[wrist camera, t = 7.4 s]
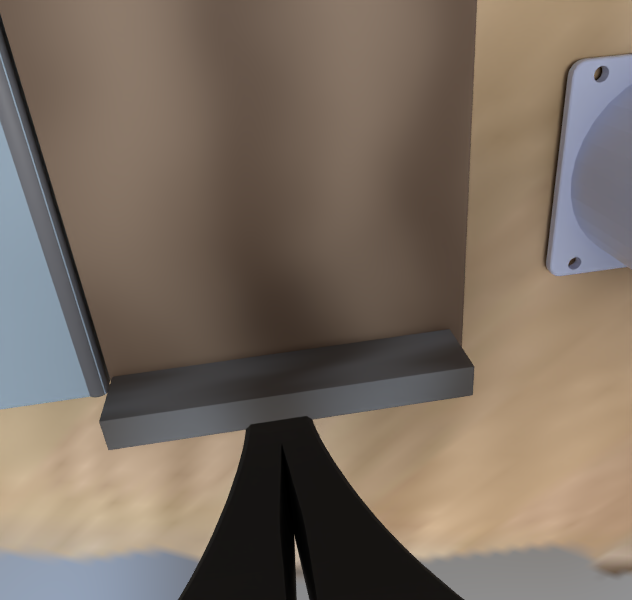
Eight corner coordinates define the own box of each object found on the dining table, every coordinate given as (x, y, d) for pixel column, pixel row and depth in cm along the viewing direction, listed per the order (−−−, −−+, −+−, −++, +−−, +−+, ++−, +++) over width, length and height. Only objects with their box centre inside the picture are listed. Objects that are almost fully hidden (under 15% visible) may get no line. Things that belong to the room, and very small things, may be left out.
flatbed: (462, -348, 15) (548, -470, 11) (444, 327, 24) (486, 393, 20) (-72, -323, 14) (-190, -448, 10) (125, 372, 23) (105, 450, 19)
